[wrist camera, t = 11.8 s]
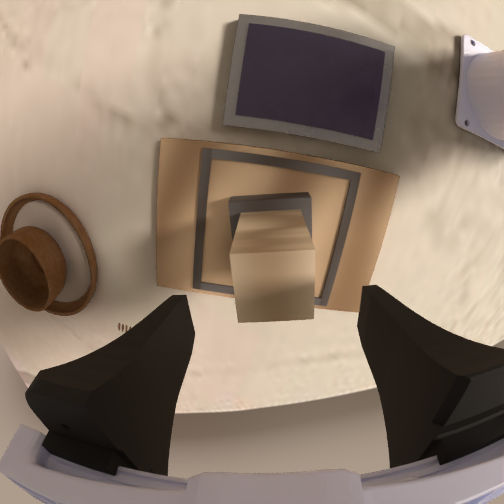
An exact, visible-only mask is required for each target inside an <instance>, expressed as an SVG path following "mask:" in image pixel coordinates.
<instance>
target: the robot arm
mask: <svg viewBox="0 0 504 504" xmlns="http://www.w3.org/2000/svg"><path fill="white" fill-rule="evenodd" d="M470 41H471V42H472V44H473V45H472V44H471V42H470ZM465 120H466V122H467V125H465ZM455 122H456V124H457V126H459V127H461V128H463V129H465V130H467V131H469V132H471V133H473V134H475V135H477V136H479V137H481V138H483V139H485V140H487V141H489V142H491V143H493V144H495V145H497V146H499V147H500V148H502V149H504V50H501V51H495V52H494V51H492V50H491V49H489V48H488V47H486V46H485V45H483V44H482V43H480V42H478V41H477V40H475V39H474V38H472V37H470V36H469V35H462V36H461V60H460V77H459V89H458V99H457V108H456V116H455ZM357 327H358V332H359V336H360V340H361V344H362V348H363V350H364V353H365V356H366V358H367V361H368V364H369V366H370V369H371V372H372V374H373V377H374V380H375V382H376V385H377V388H378V392H379V395H380V400H381V404H382V409H383V414H384V419H385V426H386V432H387V440H388V448H389V459H390V469H386V470H381V471H376V472H372V473H366V474H361V475H360V474H359V473H356V472H353V471H350V470H346V469H330V470H329V469H328V470H315V471H303V472H286V473H230V472H229V473H228V472H205V473H201V474H198V475H195V476H192V477H190V478H188V479H184V478H177V477H170V476H168V459H169V448H170V440H171V433H172V425H173V418H174V414H175V408H176V403H177V399H178V395H179V392H180V389H181V386H182V383H183V379H184V376H185V373H186V370H187V367H188V364H189V361H190V358H191V354H192V350H193V344H194V338H195V331H194V326H193V322H192V318H191V314H190V309H189V305H188V300H187V296H186V295H172V296H171V297H169V298H168V299H167V300H166V301H164V302H163V303H162V304H161V305H160V306H158V307H157V308H156V309H155V310H154V311H153V312H151V313H150V314H149V315H148V316H147V317H145V318H144V319H143V320H142V321H140V322H139V323H138V324H136V325H135V326H134V327H132V328H131V329H130V330H129V331H127V332H126V333H124V334H123V335H122V336H120V337H119V338H117V339H115V340H114V341H112V342H111V343H109V344H107V345H105V346H104V347H102V348H100V349H98V350H96V351H94V352H92V353H90V354H88V355H86V356H83V357H81V358H79V359H76V360H74V361H71V362H68V363H65V364H62V365H59V366H56V367H52V368H49V369H45V370H41V371H40V372H39V373H38V374H37V376H36V377H35V379H34V380H33V382H32V383H31V385H30V386H29V388H28V390H27V391H26V393H25V396H26V400H27V403H28V405H29V406H30V408H31V409H32V410H33V412H34V413H35V414H36V415H37V417H38V418H39V419H40V420H41V421H42V422H43V424H44V425H45V426H46V427H47V428H48V430H49V432H48V434H47V435H46V436H45V435H44V434H43V433H41V432H39V431H37V430H35V429H33V428H30V427H28V426H26V425H24V424H20V426H19V427H18V429H17V431H16V433H15V434H14V436H13V438H12V440H11V442H10V443H9V446H8V447H7V449H6V451H5V453H4V455H3V456H2V458H1V460H0V472H1V473H3V474H4V475H5V476H6V477H7V478H9V479H10V480H11V481H12V482H14V483H15V484H17V485H18V486H19V487H20V488H22V489H23V490H24V491H26V492H27V493H29V494H30V495H31V496H33V497H34V498H36V499H38V500H39V501H41V502H43V503H45V504H486V503H488V502H490V501H491V500H493V499H495V498H497V497H498V496H500V495H502V494H503V493H504V349H502V348H497V347H492V346H488V345H484V344H481V343H477V342H474V341H471V340H468V339H465V338H463V337H461V336H458V335H456V334H453V333H451V332H449V331H447V330H445V329H443V328H441V327H439V326H437V325H435V324H433V323H431V322H430V321H428V320H426V319H425V318H423V317H422V316H420V315H418V314H417V313H415V312H414V311H412V310H411V309H409V308H408V307H407V306H405V305H404V304H402V303H401V302H400V301H398V300H397V299H395V298H394V297H393V296H391V295H390V294H389V293H387V292H386V291H385V290H383V289H382V288H380V287H379V286H377V285H369V286H362V294H361V302H360V309H359V317H358V323H357Z"/></svg>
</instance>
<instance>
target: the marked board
mask: <svg viewBox="0 0 504 504" xmlns="http://www.w3.org/2000/svg"><path fill="white" fill-rule="evenodd" d="M399 177H400V176H398V175H395V174H391V173H387V172H384V171H380V170H376V169H371V168H367V167H363V166H359V165H354V164H350V163H345V162H340V161H336V160H331V159H326V158H321V157H315V156H310V155H304V154H299V153H293V152H287V151H281V150H274V149H267V148H260V147H253V146H245V145H237V144H229V143H220V142H210V141H199V140H186V139H172V138H161V144H160V157H159V173H158V192H157V226H156V269H157V286H162V287H168V288H174V289H180V290H186V291H193V292H199V293H205V294H212V295H218V296H225V297H232V298H235V295H234V287H233V279H232V271H231V263H230V250H231V247H232V243H233V242H232V234H231V224H230V215H229V206H228V202H229V200H230V197H232V196H245V195H261V194H278V193H298V192H309V194H310V196H311V198H312V242H313V244H314V247H315V295H314V308H320V309H329V310H339V311H349V312H359V309H360V302H361V294H362V286H369V283H370V280H371V277H372V274H373V271H374V268H375V265H376V262H377V258H378V255H379V252H380V249H381V245H382V242H383V239H384V235H385V232H386V228H387V225H388V221H389V217H390V214H391V210H392V206H393V202H394V198H395V194H396V190H397V186H398V181H399Z"/></svg>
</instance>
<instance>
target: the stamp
mask: <svg viewBox="0 0 504 504" xmlns="http://www.w3.org/2000/svg"><path fill="white" fill-rule="evenodd" d="M228 206H229V215H230V224H231V234H232V242H233V243H232V247H231V250H230V263H231V271H232V279H233V287H234V295H235V302H236V310H237V318H238V323H243V322H270V321H289V320H306V319H314V295H315V247H314V244H313V242H312V198H311V196H310V194H309V192H298V193H278V194H261V195H245V196H232V197H230V200H229V202H228Z"/></svg>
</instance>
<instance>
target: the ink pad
mask: <svg viewBox="0 0 504 504" xmlns="http://www.w3.org/2000/svg"><path fill="white" fill-rule="evenodd" d="M393 58H394V46H391V45H388V44H385V43H382V42H379V41H376V40H373V39H370V38H367V37H363V36H360V35H357V34H353V33H349V32H346V31H342V30H338V29H334V28H329V27H325V26H320V25H316V24H311V23H305V22H300V21H294V20H288V19H281V18H274V17H266V16H256V15H245V14H239V19H238V25H237V31H236V37H235V43H234V49H233V55H232V62H231V68H230V75H229V82H228V89H227V96H226V103H225V110H224V118H223V125H228V126H237V127H246V128H254V129H261V130H268V131H275V132H281V133H288V134H294V135H299V136H305V137H310V138H316V139H321V140H326V141H330V142H335V143H340V144H344V145H349V146H353V147H357V148H361V149H365V150H369V151H373V152H377V153H380V148H381V143H382V137H383V132H384V126H385V120H386V113H387V107H388V100H389V93H390V85H391V77H392V68H393Z"/></svg>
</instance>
